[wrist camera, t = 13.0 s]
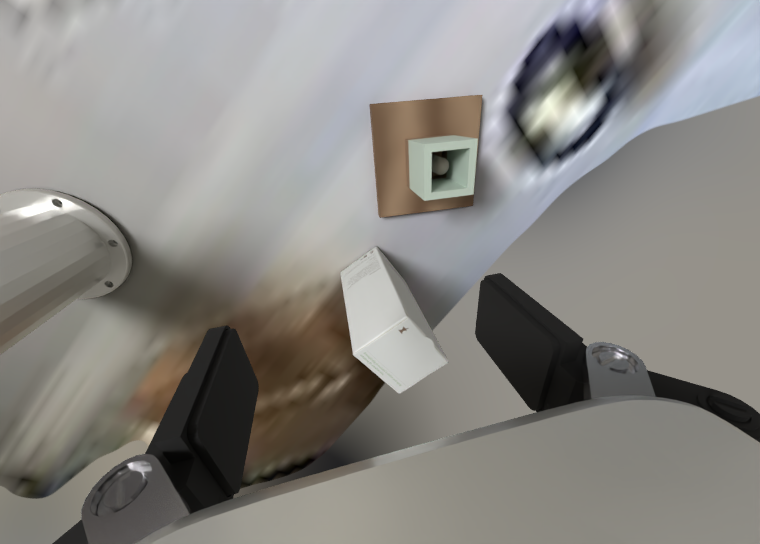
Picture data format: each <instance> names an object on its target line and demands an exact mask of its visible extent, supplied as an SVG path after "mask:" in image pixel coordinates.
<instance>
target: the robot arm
mask: <svg viewBox="0 0 760 544" xmlns="http://www.w3.org/2000/svg"><path fill="white" fill-rule="evenodd" d="M131 266H132V255H131V251H130V248H129V245H128V243H127V241H126V239H125V237H124V236H123V234H122V233H121V232H120V230H119V229H118V228H117V226H116V225H115V224H114V223H113V222H112V221H111V220H110V219H109V218H108V217H106V216H105V215H104V214H102V213H101V212H100V211H98V210H97V209H96V208H94V207H92V206H91V205H89V204H87V203H85V202H84V201H82V200H79V199H77V198H74V197H72V196H70V195H67V194H63V193H60V192H56V191H52V190H45V189H20V190H15V191H10V192H7V193H4V194H0V355H1V354H2V353H4V352H5V351H6V350H8V349H9V348H11V347H12V346H13V345H15V344H16V343H17V342H19V341H20V340H21V339H23V338H24V337H26V336H27V335H28V334H30V333H31V332H32V331H34V330H35V329H36V328H38V327H39V326H41V325H42V324H43V323H45V322H46V321H47V320H49V319H50V318H51V317H53V316H54V315H56V314H57V313H58V312H60V311H61V310H62V309H64V308H65V307H66V306H68V305H69V304H71V303H72V302H73V301H75V300H76V299H91V298H96V297H100V296H103V295H106V294H108V293H110V292H112V291H113V290H115V289H116V288H117V287H119V286H120V285H121V284H122V283H123V282H124V281H125V280H126V278H127V277H128V275H129V274H130V270H131ZM475 334H476V338H477V340H478V341H479V343H480V344H481V345H482V347H483V348H484V349H485V350H486V352H487V353H488V354H489V356H490V357H491V358H492V360H493V361H494V362H495V364H496V365H497V366H498V367H499V369H500V370H501V371H502V373H503V374H504V375H505V377H506V378H507V379H508V381H509V382H510V383H511V384H512V386H513V387H514V388H515V390H516V391H517V392H518V393H519V395H520V396H521V398H522V399H523V400H524V401H525V403H526V404H527V405H528V407H529V408H530V409H532V410H534V411H535V410H536V412H537V413H533V414H529V415H525V416H522V417H518V418H514V419H511V420H507V421H504V422H500V423H496V424H493V425H489V426H486V427H482V428H478V429H474V430H471V431H467V432H464V433H460V434H456V435H453V436H449V437H445V438H442V439H439V440H435V441H431V442H427V443H424V444H420V445H417V446H413V447H409V448H406V449H402V450H399V451H395V452H392V453H388V454H385V455H381V456H378V457H374V458H370V459H367V460H363V461H360V462H357V463H353V464H349V465H346V466H342V467H339V468H335V469H332V470H328V471H325V472H321V473H318V474H314V475H311V476H307V477H304V478H300V479H297V480H293V481H290V482H286V483H283V484H280V485H277V486H273V487H270V488H266V489H263V490H260V491H257V492H253V493H250V494H247V495H244V496H241V497H237V498H233V495H234V494H236V493H238V492H239V490H240V487H241V482H242V476H243V471H244V465H245V460H246V455H247V449H248V444H249V438H250V433H251V428H252V422H253V417H254V412H255V406H256V401H257V395H258V381H257V378H256V376H255V374H254V371H253V369H252V367H251V364H250V362H249V359H248V357H247V355H246V352H245V350H244V348H243V345H242V343H241V341H240V338H239V336H238V333H237V331H236V330H235V329H230V327H229V326H222V327H217V328H212V329H209V330H208V331H207V333H206V335H205V337H204V340H203V342H202V344H201V346H200V348H199V350H198V352H197V354H196V356H195V358H194V360H193V363H192V365H191V367H190V369H189V371H188V373H186V374H185V375H184V376H183V378H182V380H181V382H180V384H179V386H178V388H177V390H176V392H175V394H174V396H173V398H172V400H171V402H170V404H169V406H168V408H167V410H166V412H165V414H164V416H163V419H162V421H161V423H160V425H159V427H158V429H157V431H156V433H155V435H154V437H153V439H152V441H151V443H150V445H149V447H148V449H147V451H146V453H145V454H142V455H136V456H135V457H132V458H129V459H127V460H125V461H123V462H122V463H120V464H118V465H117V466H115V467H114V468H112V469H111V470H110V471H109V472H108V473H107V474H105V475H104V476H103V477H102V478H101V479H100V480H99V481H98V482H97V483H96V485H95V486H94V487H93V488H92V490H91V491H90V493H89V494H88V496H87V497H86V499H85V502H84V504H83V507H82V510H81V514H82V515H81V516H82V517H81V519H82V520H80V521H79V522H78V523H77V524H76V525H74V526H73V527H72V528H71V529H70V530H68V531H67V532H66V533H65V534H64V535H62V536H61V537H60V538H59V539H58V540H57V541H55V542H54V543H53V544H760V414H759V413H758V412H757V411H756V410H754V409H753V408H752V407H751V406H749V405H747V404H746V403H744V402H743V401H741V400H739V399H737V398H735V397H733V396H731V395H728V394H726V393H723V392H720V391H717V390H714V389H710V388H706V387H703V386H699V385H696V384H693V383H689V382H686V381H682V380H679V379H675V378H672V377H668V376H665V375H662V374H658V373H654V372H651V371H648V370H647V369H646V366H645V365H644V363H643V361H642V360H641V359H640V358H639V357H638V356H637V355H635V354H634V353H632V352H631V351H629V350H628V349H625V348H623V347H621V346H618V345H615V344H612V343H605V342H595V343H593V344H590V345H589V346H588V347H587V346H585V345H584V344H583V343H582V341H583V338H582V337H580V336H579V335H578V334H577V333H575V332H574V331H573V330H571V329H570V328H569V327H568V326H566V325H565V324H564V323H563V322H562V321H560V320H559V319H558V318H557V317H555V316H554V315H553V314H552V313H550V312H549V311H548V310H546V309H545V308H544V307H543V306H541V305H540V304H539V303H538V302H537V301H535V300H534V299H533V298H531V297H530V296H529V295H528V294H526V293H525V292H524V291H523V290H521V289H520V288H519V287H518V286H516V285H515V284H514V283H513V282H511V281H510V280H509V279H508V278H506V277H505V276H504V275H503V274H501V273H498V274H493V275H488V276H485V278H484V280H482V281H481V284H480V292H479V302H478V312H477V320H476V331H475Z"/></svg>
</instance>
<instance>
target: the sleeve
mask: <svg viewBox="0 0 760 544" xmlns="http://www.w3.org/2000/svg"><path fill="white" fill-rule="evenodd" d="M477 145H478V139H477V138H470V137H463V136H456V135H449V134H448V135H438V136H429V137H419V138H410V139H405V158H406V186H408V187H409V188H410V189H411V190H412V191H413V192H415V193H416V194H417V195H418V196H419V197H420V198H422V199H423V200H424V201H427V200H435V199H443V198H450V197H458V196H466V195H473V194H474V182H475V170H476V157H477ZM438 151H442V158H445V159H447V161H448V162H449V168H448V170H447V172H446V173H444V174H442V175H439V176H432V152H438Z"/></svg>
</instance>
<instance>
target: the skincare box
mask: <svg viewBox="0 0 760 544" xmlns="http://www.w3.org/2000/svg"><path fill="white" fill-rule="evenodd" d="M340 274H341V280H342V286H343V293H344V299H345V305H346V311H347V317H348V324H349V330H350V337H351V344H352V350H353V355H354V356H355V357H356V358H357V359H359V360H360V361H361V362H362V363H363V364H365V365H366V366H367V367H368V368H369V369H370V370H372V371H373V372H374V373H375V374H376V375H377V376H379V377H380V378H381V379H382V380H383V381H384V382H386V383H387V384H388V385H389V386H390V387H391V388H393V389H394V390H395V391H396V392H397V393H399V394H400V393H401V392H403V391H405V390H407V389H408V388H410V387H411V386H413V385H414V384H416V383H417V382H418V381H420V380H421V379H423V378H425V377H426V376H428V375H429V374H431V373H432V372H434V371H436V370H437V369H439V368H440V367H442V366H444V365H446V364H447V363H448V362H449V361H448V359H447V357H446V355H445V354H444V352H443V350H442V348H441V346H440V344H439V343H438V341H437V339H436V337H435V335H434V333H433V331H432V330H431V328H430V326H429V324H428V322H427V320H426V319H425V317H424V315H423V313H422V311H421V309H420V307H419V306H418V304H417V302H416V300H415V298H414V297H413V295H412V293H411V291H410V289H409V287H408V285H407V283H406V282H405V280H404V279H403V278H402V277H401V275H400V274H399V273H398V272H397V270H396V269H395V268H394V267H393V265H392V264H391V263H390V262H389V260H388V259H387V258H386V257H385V255H384V254H383V253H382V252H381V251H380V250H379V248H378V247H374V248H373V249H372V250H370V251H369V252H368V253H366V254H365V255H363V256H362V257H361V258H359V259H358V260H357V261H355V262H354V263H352V264H351V265H350V266H348V267H347V268H346V269H344V270H343V271H342V272H341V273H340Z"/></svg>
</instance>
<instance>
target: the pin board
mask: <svg viewBox="0 0 760 544" xmlns="http://www.w3.org/2000/svg"><path fill="white" fill-rule="evenodd" d="M481 105H482V95H474V96H462V97H450V98H438V99H426V100H414V101H402V102H390V103H378V104H370V115H371V127H372V140H373V152H374V165H375V177H376V190H377V202H378V214H379V217H380V218H381V217H388V216H396V215H404V214H412V213H420V212H428V211H435V210H443V209H451V208H459V207H467V206H473V198H474V194H473V195H466V196H458V197H450V198H443V199H435V200H427V201H424V200H423V199H422V198H420V197H419V196H418V195H417V194H416V193H415V192H413V191H412V190H411V189H410V188H409V187H408V186H406V158H405V139H410V138H419V137H429V136H438V135H448V134H449V135H456V136H463V137H470V138H477V139H478V140H479V128H480V116H481ZM477 151H478V145H477ZM476 163H477V157H476ZM448 168H449V162H448V161H447V159H445V158H442V151H438V152H432V176H439V175H442V174H444V173H446V172H447V170H448ZM475 174H476V170H475ZM474 186H475V182H474Z"/></svg>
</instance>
